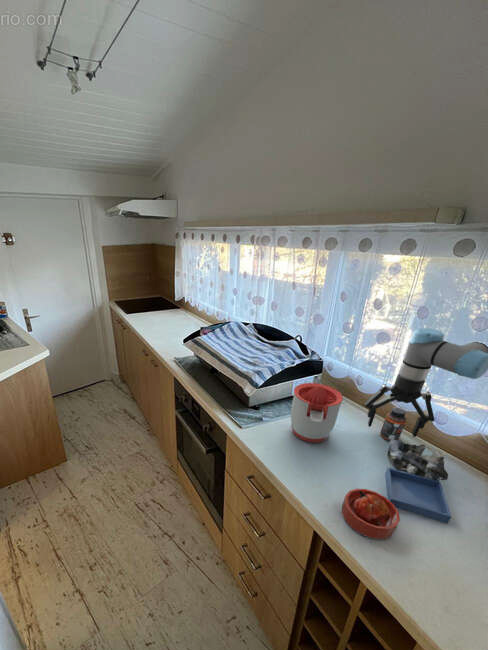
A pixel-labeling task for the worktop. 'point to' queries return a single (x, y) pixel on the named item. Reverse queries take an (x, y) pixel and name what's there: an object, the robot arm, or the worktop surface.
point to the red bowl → (371, 527)
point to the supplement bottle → (393, 424)
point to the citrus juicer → (314, 411)
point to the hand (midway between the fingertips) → (391, 429)
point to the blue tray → (417, 495)
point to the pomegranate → (370, 507)
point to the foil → (416, 460)
